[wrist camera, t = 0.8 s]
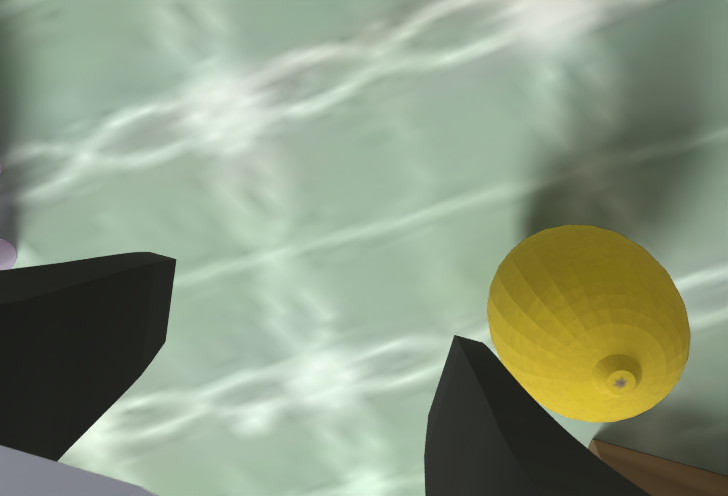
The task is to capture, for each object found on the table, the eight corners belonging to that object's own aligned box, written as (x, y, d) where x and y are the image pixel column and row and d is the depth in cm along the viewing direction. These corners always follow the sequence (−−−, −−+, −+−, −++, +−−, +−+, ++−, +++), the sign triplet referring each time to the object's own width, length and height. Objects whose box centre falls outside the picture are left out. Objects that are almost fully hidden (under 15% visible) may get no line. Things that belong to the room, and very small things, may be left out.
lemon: (585, 173, 19) (685, 232, 12) (653, 297, 20) (785, 425, 13) (451, 248, 21) (462, 345, 13) (520, 360, 22) (568, 510, 14)
